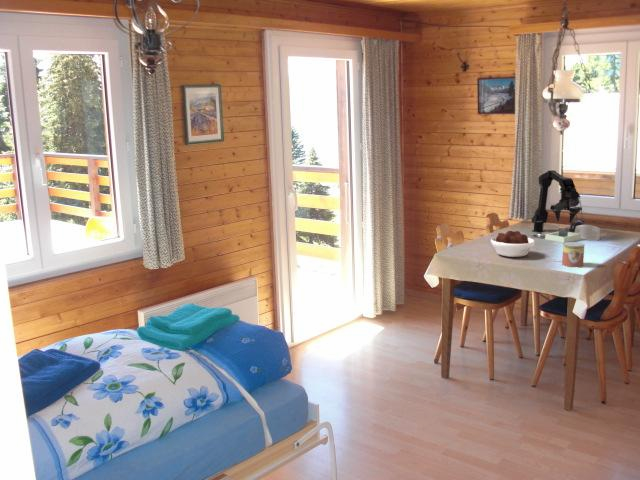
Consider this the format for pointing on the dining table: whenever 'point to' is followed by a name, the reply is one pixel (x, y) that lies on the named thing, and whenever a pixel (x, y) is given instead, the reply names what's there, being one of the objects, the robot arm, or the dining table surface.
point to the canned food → (573, 254)
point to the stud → (539, 235)
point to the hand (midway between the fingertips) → (564, 222)
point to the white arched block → (588, 232)
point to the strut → (563, 231)
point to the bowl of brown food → (512, 244)
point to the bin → (556, 238)
